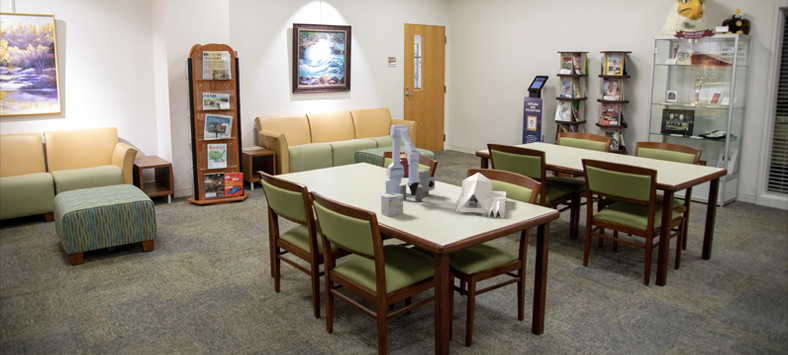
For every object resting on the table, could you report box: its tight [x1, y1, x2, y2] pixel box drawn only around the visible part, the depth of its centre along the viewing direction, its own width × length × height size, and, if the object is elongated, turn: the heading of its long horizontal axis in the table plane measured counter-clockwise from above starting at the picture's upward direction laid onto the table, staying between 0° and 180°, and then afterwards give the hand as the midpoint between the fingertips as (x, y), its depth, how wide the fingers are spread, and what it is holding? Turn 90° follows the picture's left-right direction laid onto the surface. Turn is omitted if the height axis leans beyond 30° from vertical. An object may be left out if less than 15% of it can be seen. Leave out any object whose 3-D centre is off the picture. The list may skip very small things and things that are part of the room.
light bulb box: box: [380, 193, 404, 218], centre depth 308 cm, size 11×7×11 cm, turn 128°
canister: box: [400, 151, 409, 178], centre depth 409 cm, size 13×13×18 cm
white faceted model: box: [455, 172, 507, 219], centre depth 322 cm, size 42×27×17 cm, turn 168°
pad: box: [406, 195, 424, 199], centre depth 347 cm, size 9×5×1 cm, turn 67°
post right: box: [414, 185, 423, 203], centre depth 337 cm, size 4×4×9 cm
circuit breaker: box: [417, 168, 436, 197], centre depth 351 cm, size 8×14×15 cm, turn 48°
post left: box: [399, 182, 407, 201], centre depth 340 cm, size 4×4×9 cm
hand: (413, 195), depth 333 cm, fingers closed
